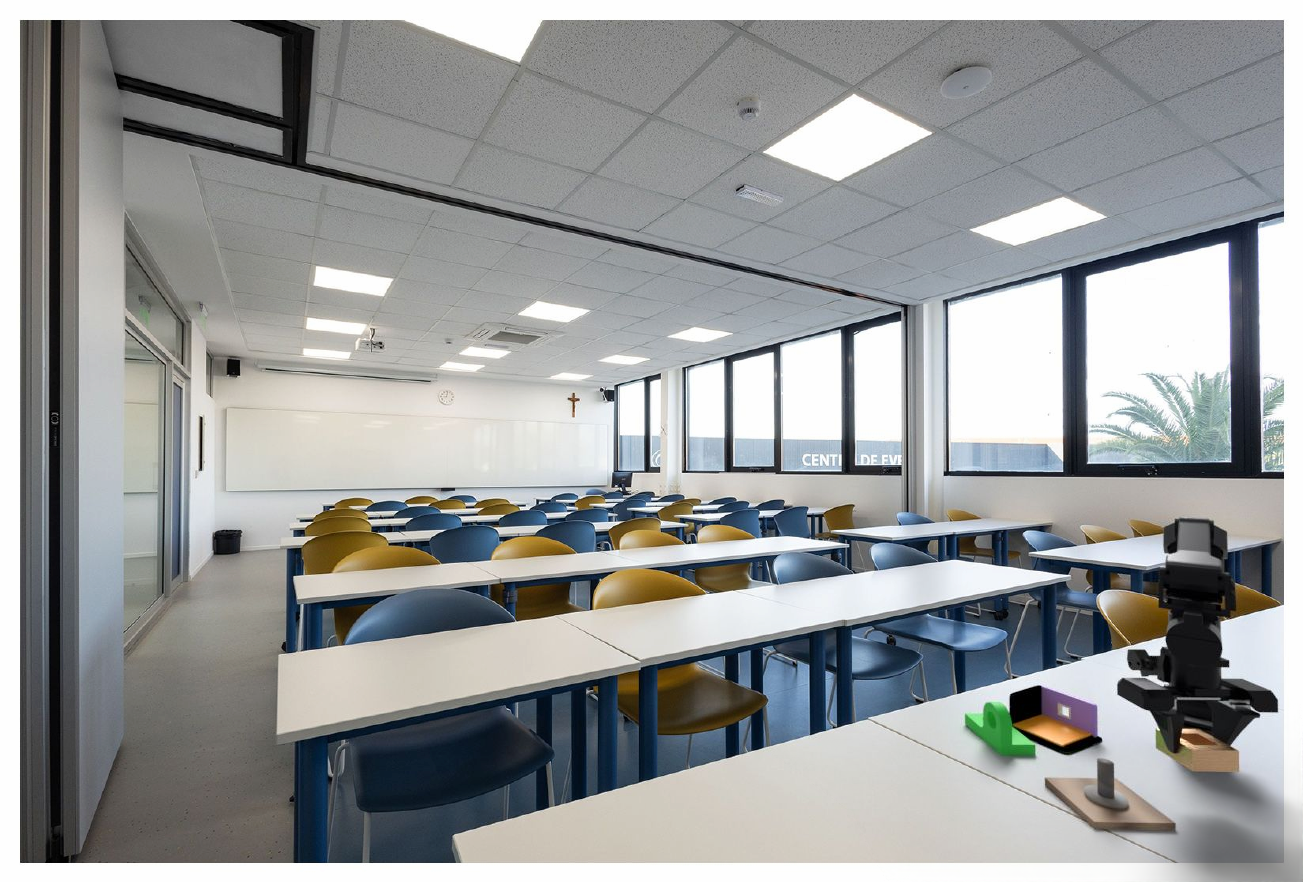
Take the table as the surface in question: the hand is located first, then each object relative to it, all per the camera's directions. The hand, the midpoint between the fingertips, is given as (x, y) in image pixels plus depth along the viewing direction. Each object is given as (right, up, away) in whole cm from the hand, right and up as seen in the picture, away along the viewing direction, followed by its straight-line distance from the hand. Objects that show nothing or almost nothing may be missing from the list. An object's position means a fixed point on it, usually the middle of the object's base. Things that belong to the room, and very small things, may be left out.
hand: (1195, 752), depth 87 cm
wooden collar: (0, -1, 0) cm, 1 cm away
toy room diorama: (-5, -9, +23) cm, 26 cm away
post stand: (-13, -9, +1) cm, 16 cm away
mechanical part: (-16, -9, +22) cm, 29 cm away
